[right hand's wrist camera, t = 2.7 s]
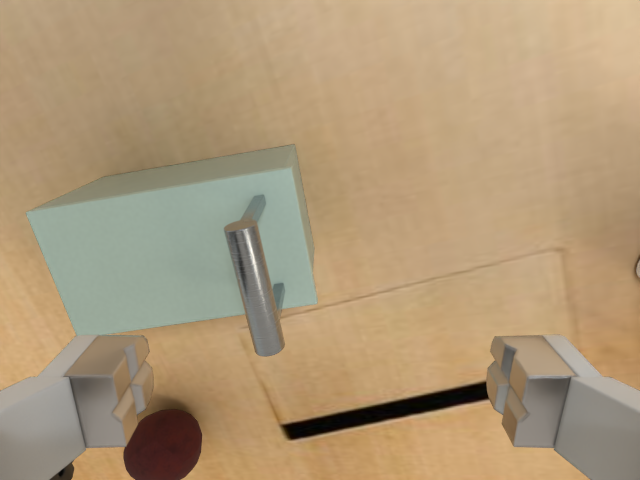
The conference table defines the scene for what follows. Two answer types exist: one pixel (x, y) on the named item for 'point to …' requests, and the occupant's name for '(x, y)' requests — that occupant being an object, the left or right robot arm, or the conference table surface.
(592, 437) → the right robot arm
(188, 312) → the lid
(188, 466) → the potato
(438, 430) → the conference table surface
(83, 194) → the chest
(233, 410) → the conference table surface
